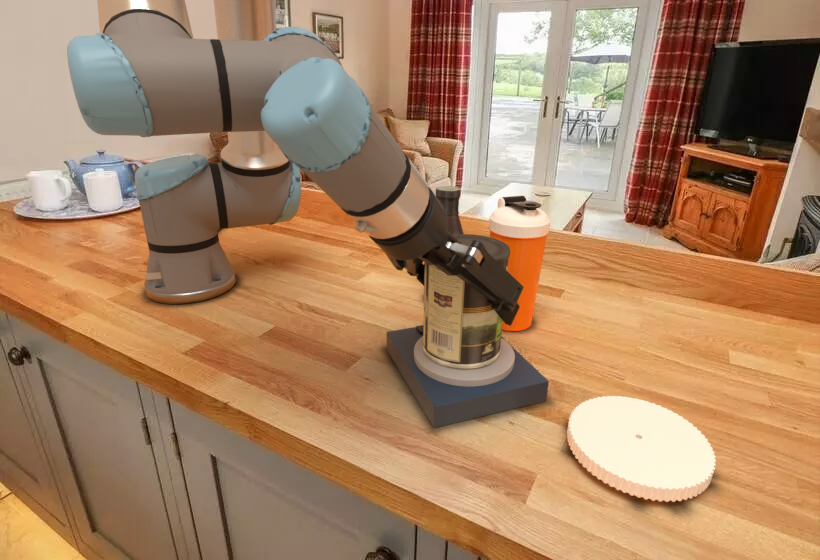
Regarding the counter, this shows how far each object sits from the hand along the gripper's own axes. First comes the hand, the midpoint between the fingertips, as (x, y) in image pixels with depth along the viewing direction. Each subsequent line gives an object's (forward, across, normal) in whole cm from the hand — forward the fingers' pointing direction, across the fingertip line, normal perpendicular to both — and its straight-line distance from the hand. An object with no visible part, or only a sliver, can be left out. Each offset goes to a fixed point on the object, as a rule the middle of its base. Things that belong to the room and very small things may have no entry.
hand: (476, 302), depth 64 cm
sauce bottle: (+17, -16, +3) cm, 23 cm away
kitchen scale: (+5, 0, -9) cm, 10 cm away
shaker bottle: (+17, -3, +4) cm, 18 cm away
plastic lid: (+4, +23, -9) cm, 25 cm away
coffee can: (+2, 0, -6) cm, 6 cm away
